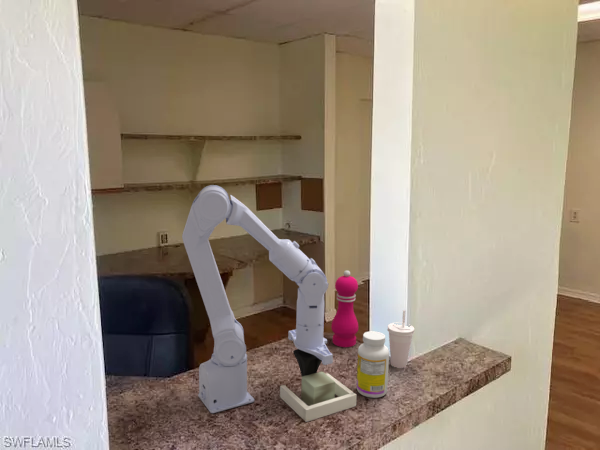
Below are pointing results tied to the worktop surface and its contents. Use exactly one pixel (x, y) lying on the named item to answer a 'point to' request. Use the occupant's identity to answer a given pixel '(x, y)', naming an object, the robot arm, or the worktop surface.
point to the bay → (323, 408)
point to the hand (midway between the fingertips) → (308, 382)
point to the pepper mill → (345, 312)
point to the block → (317, 388)
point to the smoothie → (400, 342)
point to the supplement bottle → (372, 365)
